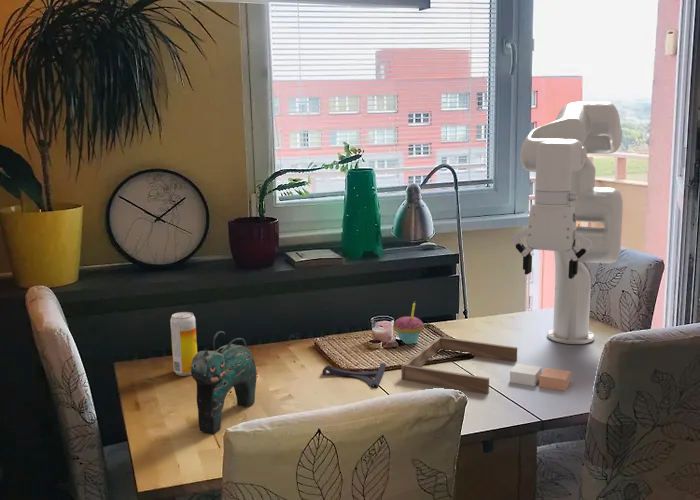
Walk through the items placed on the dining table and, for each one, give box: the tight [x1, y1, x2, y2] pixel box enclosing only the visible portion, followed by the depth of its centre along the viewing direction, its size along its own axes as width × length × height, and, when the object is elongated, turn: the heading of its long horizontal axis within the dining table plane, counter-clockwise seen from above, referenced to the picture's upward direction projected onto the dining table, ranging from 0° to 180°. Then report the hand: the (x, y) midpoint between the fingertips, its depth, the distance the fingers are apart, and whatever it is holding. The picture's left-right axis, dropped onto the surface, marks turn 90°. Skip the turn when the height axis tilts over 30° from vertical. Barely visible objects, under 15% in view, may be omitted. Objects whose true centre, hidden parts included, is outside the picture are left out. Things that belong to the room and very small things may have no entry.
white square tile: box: [509, 363, 543, 387], centre depth 181 cm, size 6×6×3 cm
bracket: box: [322, 362, 387, 389], centre depth 185 cm, size 14×15×3 cm
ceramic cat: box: [190, 330, 258, 435], centre depth 160 cm, size 20×6×20 cm, turn 156°
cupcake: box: [392, 300, 425, 345], centre depth 210 cm, size 9×8×12 cm
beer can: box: [169, 311, 198, 377], centre depth 188 cm, size 6×6×15 cm
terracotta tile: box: [538, 367, 572, 392], centre depth 177 cm, size 6×6×3 cm
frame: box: [401, 336, 518, 395], centre depth 188 cm, size 25×22×4 cm
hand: (549, 275), depth 167 cm, fingers open, 9 cm apart
